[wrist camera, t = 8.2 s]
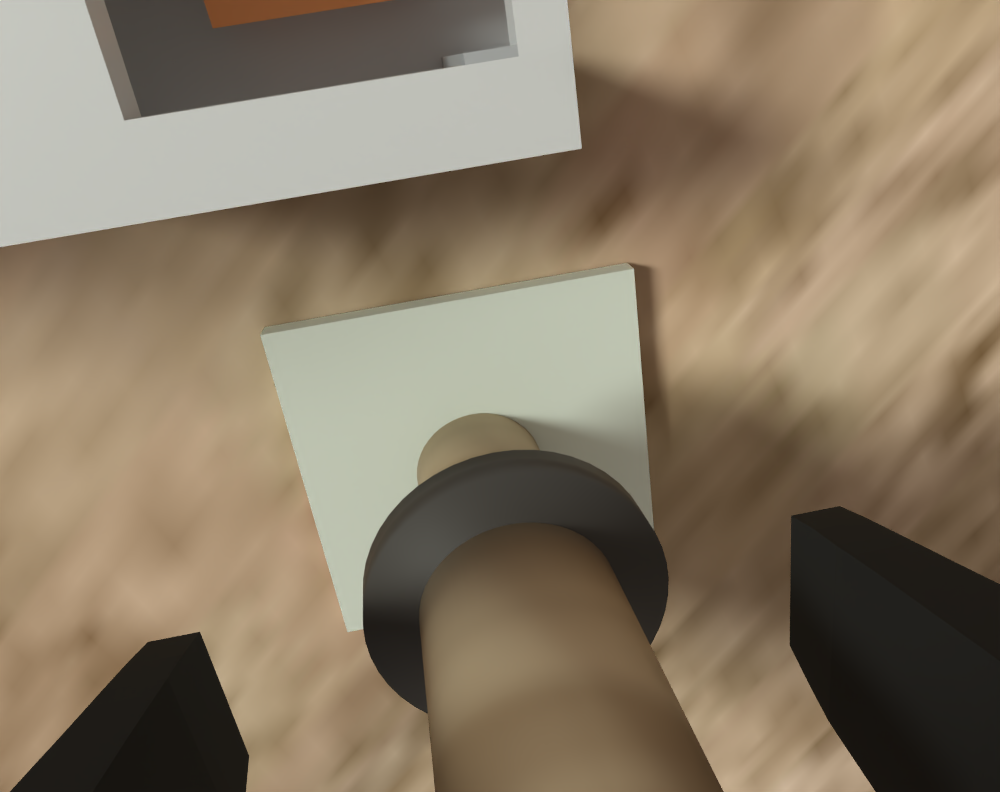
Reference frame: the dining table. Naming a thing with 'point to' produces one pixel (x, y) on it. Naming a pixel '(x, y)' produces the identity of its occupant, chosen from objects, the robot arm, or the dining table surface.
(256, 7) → the plate
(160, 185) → the box
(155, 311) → the dining table surface
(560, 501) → the stylus
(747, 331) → the dining table surface
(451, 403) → the rest pad
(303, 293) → the dining table surface
